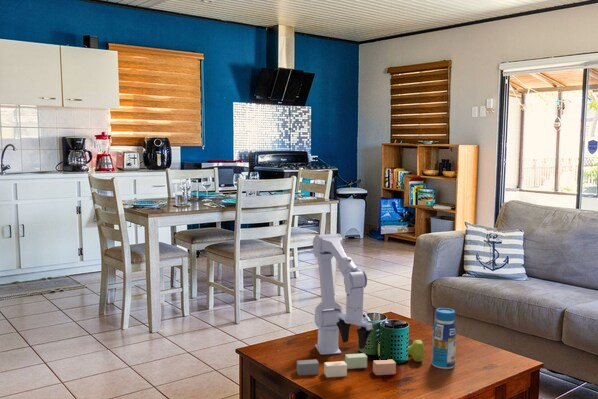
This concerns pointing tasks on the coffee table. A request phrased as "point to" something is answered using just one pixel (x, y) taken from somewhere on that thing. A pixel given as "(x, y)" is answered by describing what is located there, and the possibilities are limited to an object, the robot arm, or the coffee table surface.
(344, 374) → the brick cream
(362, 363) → the brick sage
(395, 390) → the coffee table surface
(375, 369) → the brick terracotta
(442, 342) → the beverage bottle
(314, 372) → the brick charcoal
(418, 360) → the dumbbell
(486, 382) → the coffee table surface
